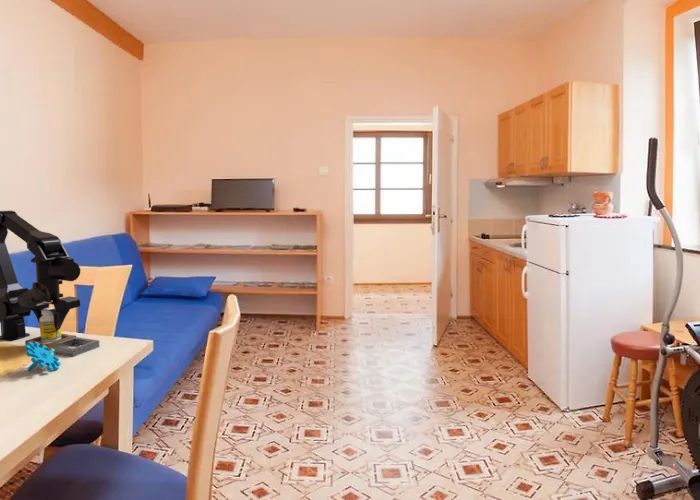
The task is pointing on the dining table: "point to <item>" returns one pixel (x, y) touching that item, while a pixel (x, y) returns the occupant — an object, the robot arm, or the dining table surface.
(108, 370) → the dining table surface
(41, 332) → the supplement bottle
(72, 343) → the socket
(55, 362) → the gear
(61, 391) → the dining table surface
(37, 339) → the brown square frame
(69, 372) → the dining table surface
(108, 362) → the dining table surface
